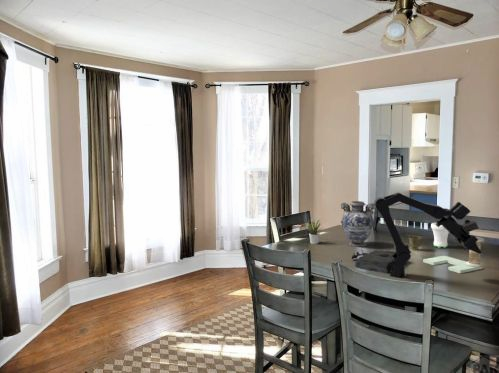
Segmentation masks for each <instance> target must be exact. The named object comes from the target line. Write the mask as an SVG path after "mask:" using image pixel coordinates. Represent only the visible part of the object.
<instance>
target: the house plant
mask: <svg viewBox="0 0 499 373" xmlns="http://www.w3.org/2000/svg"><path fill="white" fill-rule="evenodd" d="M306 222H307V223H306V226H307V227H306V229H307V231H308V232H309V231H310V232H309V233H308V234H309V241H310V244H312V245H313V244H314V245H316V244H319V242H320V235H321V234H320V233H319V232H320V231H321V232H322V231H323V228H320V226H321V225H322V224H323V223H326V222H327V220H325V221H321V219H318V220H317V221H316V222H315V219H313V220H312V219H310V222H311V223H312V225H311V224H310V222H308V220H306Z"/></svg>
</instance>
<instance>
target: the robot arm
mask: <svg viewBox="0 0 499 373" xmlns="http://www.w3.org/2000/svg"><path fill="white" fill-rule="evenodd" d="M373 203H374V204H375V209H376V210H377V211H378V213H379V214H380V216H382V217H381V218H382V219H383V221H384V223H385V226H386V228H387V230H388V232H389V234H390V237H391V239H392V241H393V246H394V250H395V251H394V252H396V253H395V254H393V255H392V256H391V257H392V260H393V262H392V272H390V273H389V276H390V277H395V278H401V279H403V278H405V277H407V276H408V273H406V265H407V262H408V261H409V260H410V259H411V258H412V256H411V254H412V251H411V250H410V247H409V243H407V242H405V241H404V242H403V240H402V238H401V236H400V234H399V232H398V229H397V227H396V225H395V222H394V220H393V217H392V215H391V211H390V206H393V205H394V204H397V203H402V204H405V205H407V206H410V207H412V208H415V209H418V210H420V211H421V212H424V213H426V214H427V215H429V216H431V217H432V218H433V219H434V218H435V219H436V220H435V223H436V226H437V227H439V226H440V225H442V226H443V227H444V228H445V229H446V230H447V231H448V232H449V234H450V235H451V236H452V238H453V240H455V241H456V242H458V243H459V244H460V245H461V246H463V247H464V248H465V249H468V250H469V249H470V250H472V251H474V252H477V253H479V254H480V255H481V254H482V250H480V249H479V247H478V246H477V244H476V242H477V241H478V239H477V238H476V237H477V236H475V235H474V234H471V232H472V231H475V230H478V229H479V228H480V227H479V225H478V223H477V221H475V220H469V219H467V218H466V217H467V216H468V215H469V214H470V213H471V212H472V211H471V210H470V209H469V208H468V207H467V206H465V205H464V204H462V202H460V201H457V202H456V203H455V204H454V205H453V206H452V207H451V208H450V209H449V208H447V207H446V208H444V207H442V206H440V205H439V204H433V203H427V202H423V201H421V200H418V199H415V198H414V197H413V198H412V197H410V196H408V195H405V194H402V193H401V192H395V193H393V194H390V195H387V196H384V197H381V196H379V197H377V198H376V199H374V202H373ZM465 218H466V219H465ZM463 219H465V220H463ZM458 220H459V221H462V220H463V224H460V223H458Z"/></svg>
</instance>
